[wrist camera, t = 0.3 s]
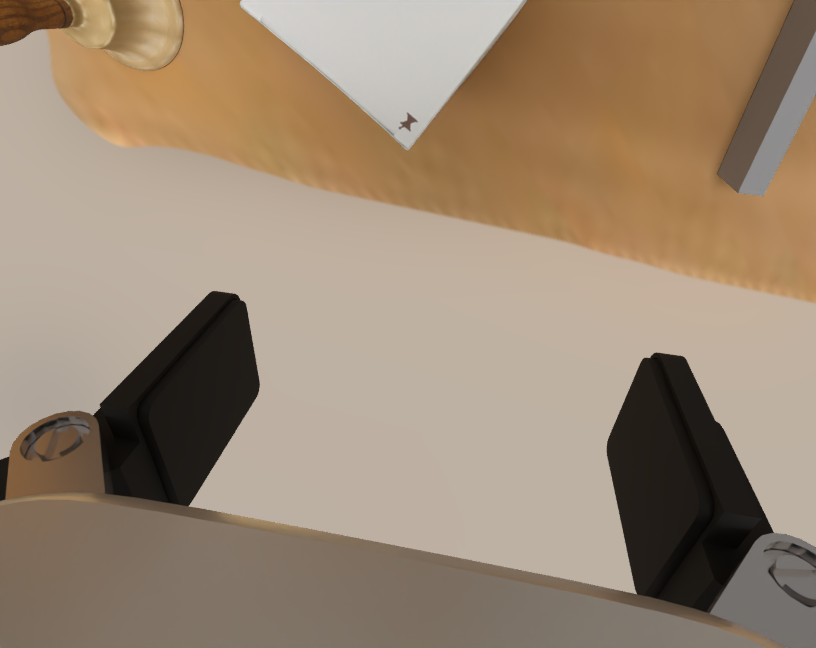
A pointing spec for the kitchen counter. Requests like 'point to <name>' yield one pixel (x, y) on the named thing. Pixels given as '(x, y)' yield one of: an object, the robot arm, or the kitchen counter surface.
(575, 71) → the kitchen counter surface
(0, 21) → the hand bell
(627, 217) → the kitchen counter surface
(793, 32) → the gray rectangular bar
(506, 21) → the supplement box
